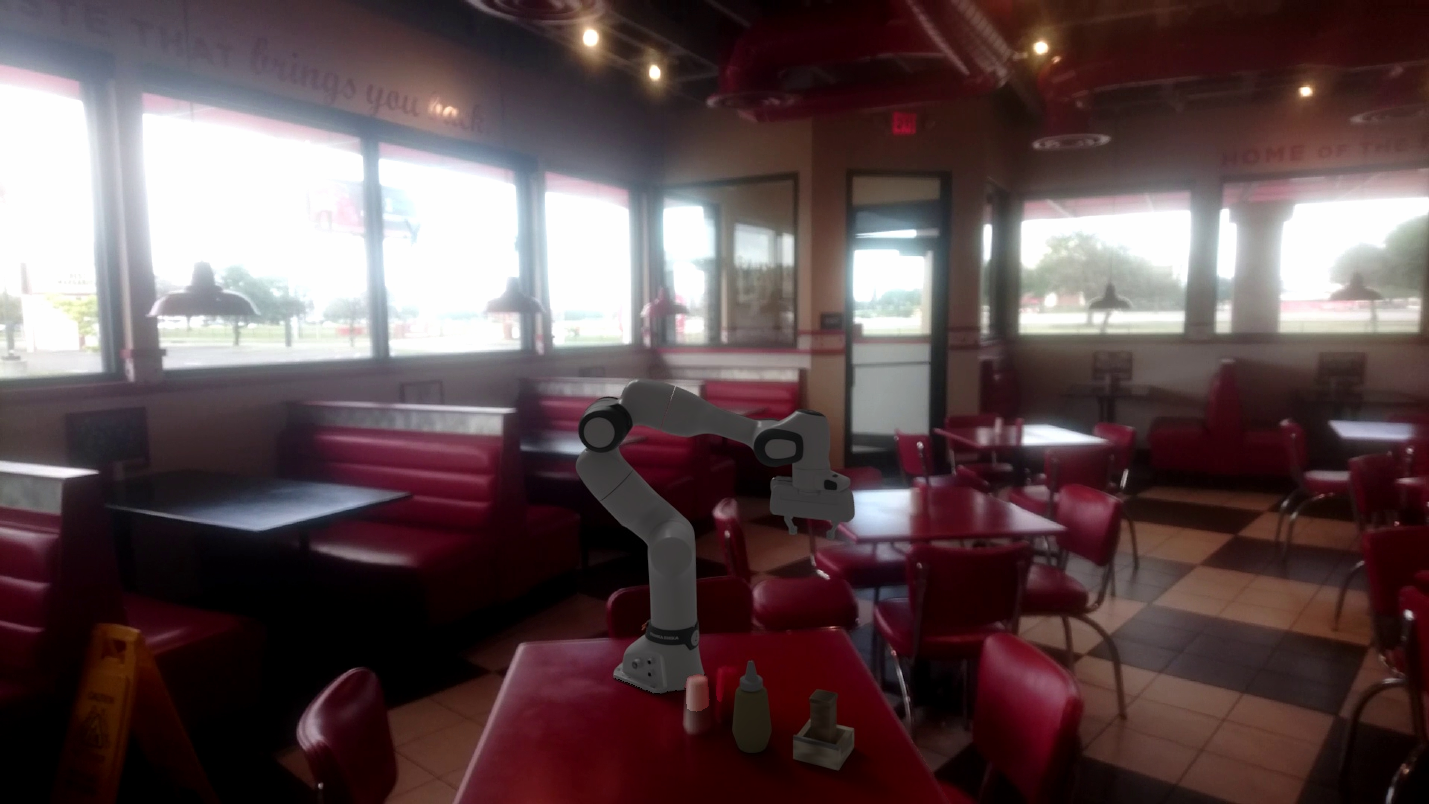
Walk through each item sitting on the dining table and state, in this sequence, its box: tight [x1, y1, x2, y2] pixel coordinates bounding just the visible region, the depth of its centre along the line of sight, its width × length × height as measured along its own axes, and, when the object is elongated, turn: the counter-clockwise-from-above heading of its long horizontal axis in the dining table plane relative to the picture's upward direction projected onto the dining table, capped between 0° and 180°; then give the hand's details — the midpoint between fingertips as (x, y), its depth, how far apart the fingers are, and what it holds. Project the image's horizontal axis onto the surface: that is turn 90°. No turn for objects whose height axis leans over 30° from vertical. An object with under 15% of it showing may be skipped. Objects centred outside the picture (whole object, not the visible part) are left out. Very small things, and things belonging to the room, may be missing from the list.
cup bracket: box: [792, 719, 855, 771], centre depth 163 cm, size 9×9×5 cm
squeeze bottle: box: [731, 660, 772, 754], centre depth 165 cm, size 8×8×18 cm
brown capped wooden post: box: [808, 688, 839, 745], centre depth 162 cm, size 4×4×12 cm
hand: (811, 536), depth 192 cm, fingers open, 8 cm apart
